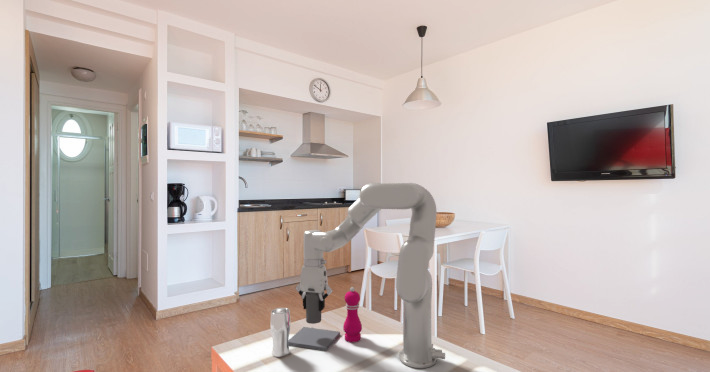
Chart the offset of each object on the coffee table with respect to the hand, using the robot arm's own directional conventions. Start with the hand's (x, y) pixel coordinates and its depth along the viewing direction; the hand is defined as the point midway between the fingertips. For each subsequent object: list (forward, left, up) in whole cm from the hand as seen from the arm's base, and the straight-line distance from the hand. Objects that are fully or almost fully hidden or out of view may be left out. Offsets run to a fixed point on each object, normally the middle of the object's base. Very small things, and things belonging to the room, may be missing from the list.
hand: (313, 308), depth 131 cm
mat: (0, 0, -12) cm, 12 cm away
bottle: (0, 0, -5) cm, 5 cm away
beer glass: (+7, +13, -12) cm, 19 cm away
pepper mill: (-14, -5, -12) cm, 19 cm away
